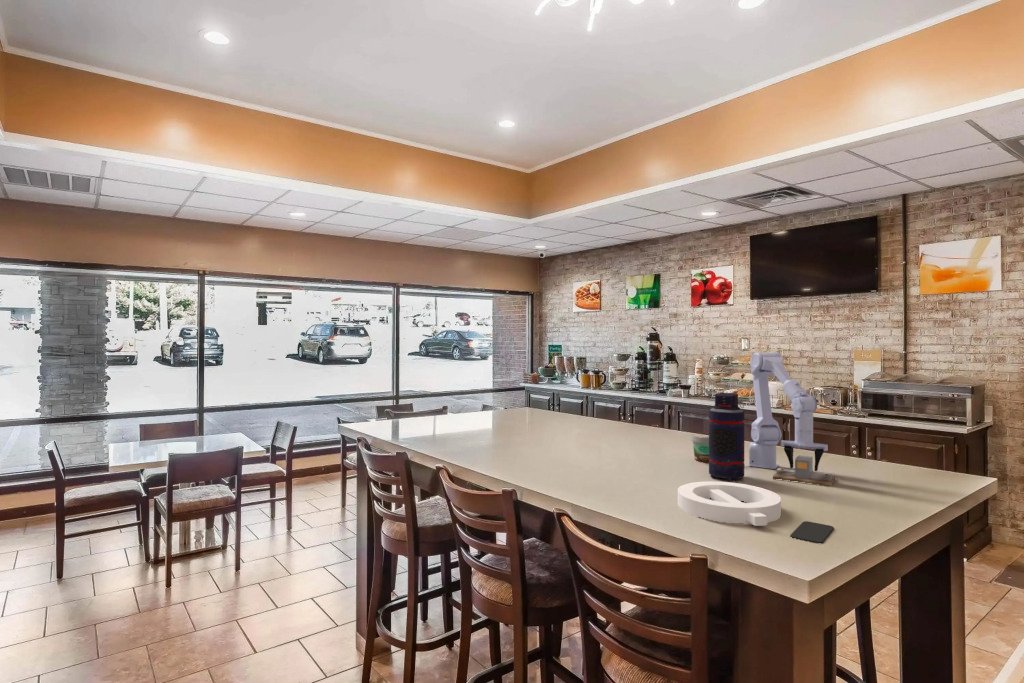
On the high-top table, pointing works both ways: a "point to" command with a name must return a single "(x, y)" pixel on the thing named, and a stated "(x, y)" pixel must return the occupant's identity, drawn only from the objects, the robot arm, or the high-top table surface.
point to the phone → (812, 532)
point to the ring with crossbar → (730, 502)
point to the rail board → (814, 479)
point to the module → (803, 466)
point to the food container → (701, 449)
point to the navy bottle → (726, 437)
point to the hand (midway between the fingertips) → (803, 468)
